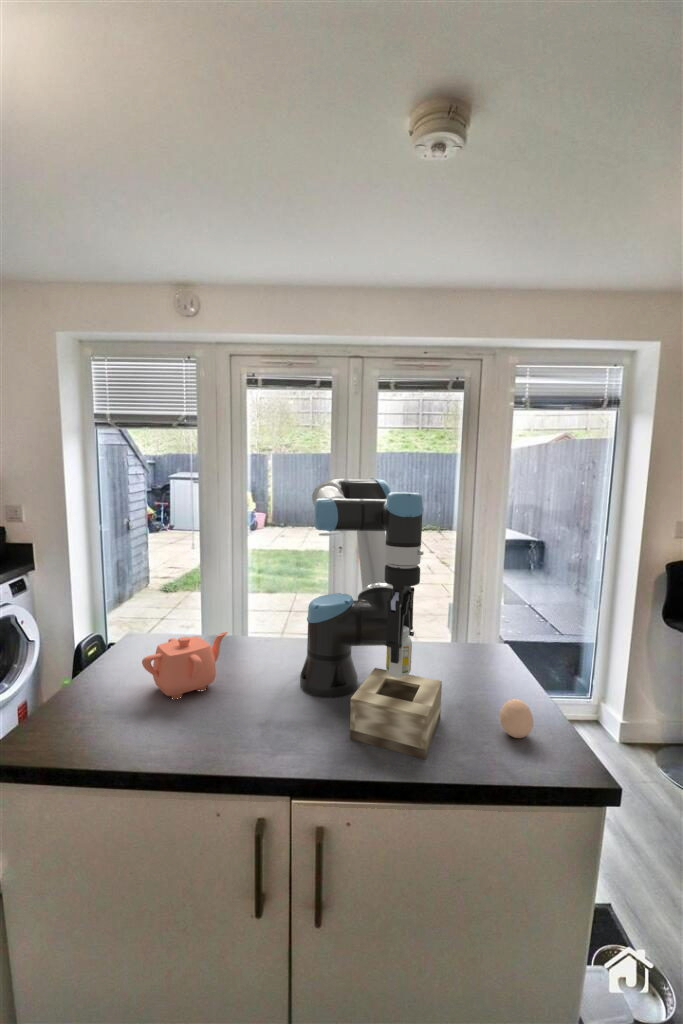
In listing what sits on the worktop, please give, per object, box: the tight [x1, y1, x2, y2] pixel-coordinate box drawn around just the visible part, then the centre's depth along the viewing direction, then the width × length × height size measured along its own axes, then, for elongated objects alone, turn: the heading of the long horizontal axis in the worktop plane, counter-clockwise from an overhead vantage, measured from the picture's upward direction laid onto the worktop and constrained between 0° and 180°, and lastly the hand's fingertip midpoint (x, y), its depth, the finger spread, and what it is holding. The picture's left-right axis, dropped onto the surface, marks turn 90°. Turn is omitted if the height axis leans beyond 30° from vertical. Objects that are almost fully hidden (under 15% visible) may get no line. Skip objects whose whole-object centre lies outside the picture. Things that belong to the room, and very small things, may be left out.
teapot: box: [141, 631, 228, 699], centre depth 110 cm, size 17×16×13 cm
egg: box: [499, 698, 534, 739], centre depth 92 cm, size 7×7×8 cm
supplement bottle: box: [385, 626, 413, 676], centre depth 93 cm, size 5×5×10 cm
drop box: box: [349, 667, 443, 760], centre depth 94 cm, size 16×16×9 cm
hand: (399, 670), depth 93 cm, fingers closed on supplement bottle, 5 cm apart
